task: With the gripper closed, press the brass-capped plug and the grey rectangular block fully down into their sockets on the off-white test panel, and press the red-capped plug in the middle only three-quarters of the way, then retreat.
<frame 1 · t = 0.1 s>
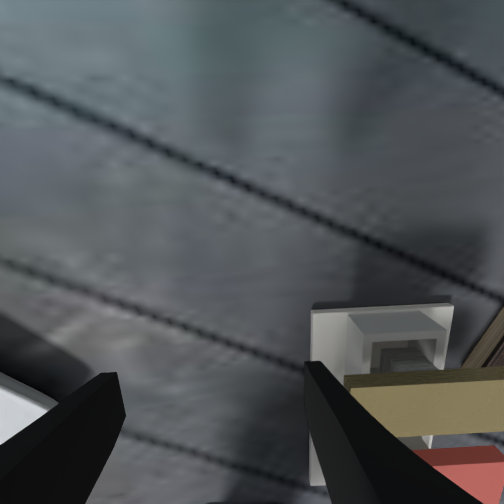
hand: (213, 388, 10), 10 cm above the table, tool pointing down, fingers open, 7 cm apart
brass plug: (414, 383, 16), point 5 cm above the table, slide at 0.0 cm
red plug: (404, 455, 18), point 5 cm above the table, slide at 0.0 cm
test panel: (371, 399, 22), on the table
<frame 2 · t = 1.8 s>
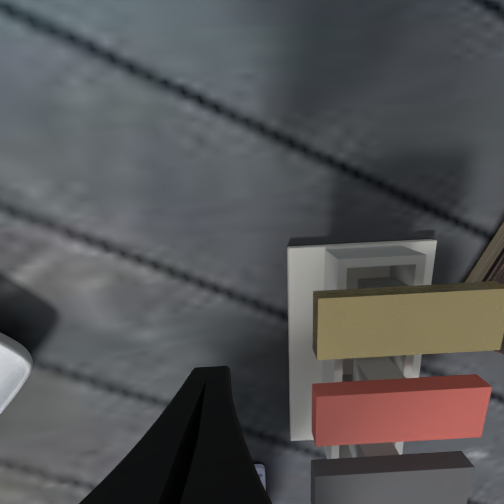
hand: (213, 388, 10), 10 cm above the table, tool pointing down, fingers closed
grey rectangular block: (376, 460, 18), point 5 cm above the table, slide at 0.0 cm
brass plug: (391, 307, 15), point 5 cm above the table, slide at 0.0 cm
red plug: (383, 390, 17), point 5 cm above the table, slide at 0.0 cm
test panel: (353, 346, 21), on the table
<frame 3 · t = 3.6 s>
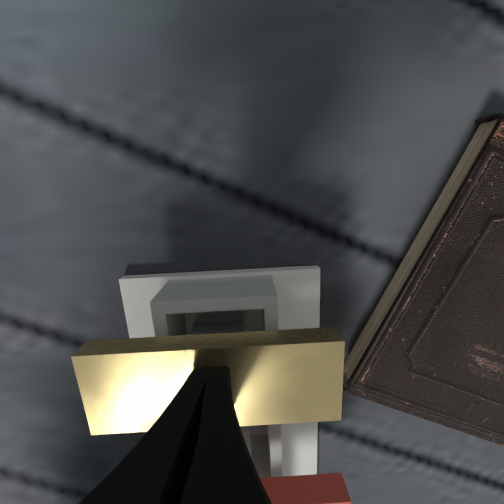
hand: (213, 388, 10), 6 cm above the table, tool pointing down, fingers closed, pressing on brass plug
brass plug: (218, 356, 12), point 4 cm above the table, slide at 1.3 cm, touching gripper
red plug: (225, 485, 12), point 5 cm above the table, slide at 0.0 cm
test panel: (231, 401, 16), on the table
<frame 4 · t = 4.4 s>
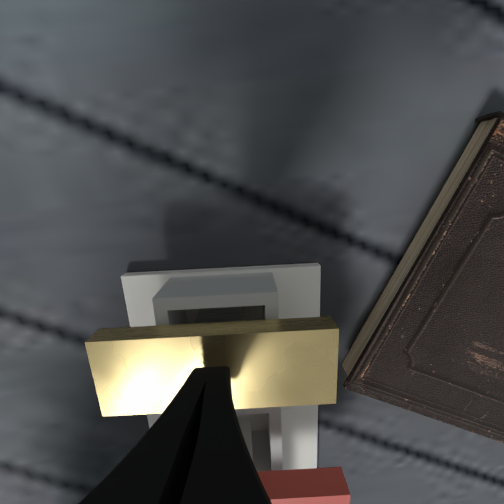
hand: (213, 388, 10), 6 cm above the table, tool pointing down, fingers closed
brass plug: (221, 344, 12), point 3 cm above the table, slide at 1.8 cm
red plug: (227, 478, 12), point 5 cm above the table, slide at 0.0 cm
test panel: (232, 397, 17), on the table
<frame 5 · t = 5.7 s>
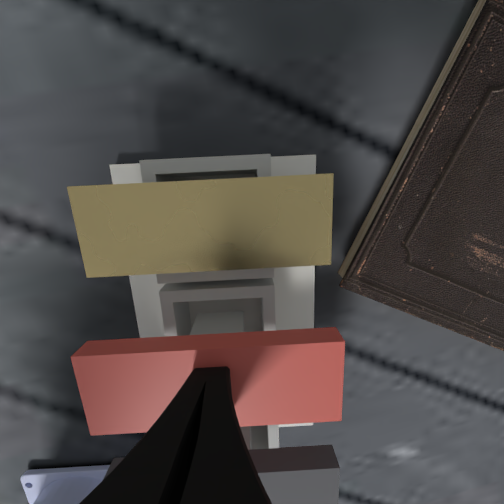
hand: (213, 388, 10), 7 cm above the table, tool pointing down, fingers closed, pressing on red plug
grey rectangular block: (227, 458, 13), point 5 cm above the table, slide at 0.0 cm
brass plug: (212, 221, 12), point 3 cm above the table, slide at 1.8 cm
red plug: (218, 356, 12), point 5 cm above the table, slide at 0.1 cm, touching gripper
test panel: (226, 309, 16), on the table
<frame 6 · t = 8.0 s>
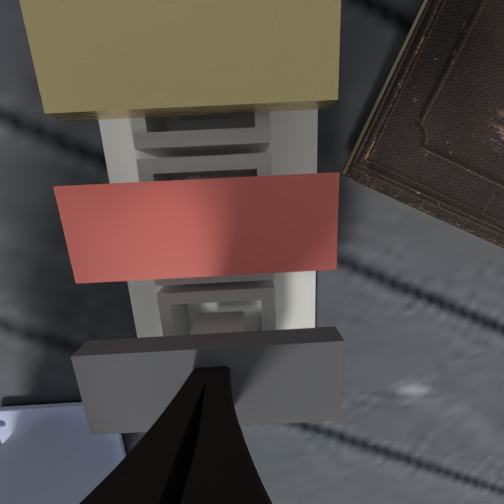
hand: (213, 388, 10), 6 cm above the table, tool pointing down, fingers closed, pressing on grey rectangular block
grey rectangular block: (218, 356, 12), point 4 cm above the table, slide at 0.4 cm, touching gripper
brass plug: (197, 72, 10), point 3 cm above the table, slide at 1.8 cm
red plug: (209, 223, 11), point 3 cm above the table, slide at 1.4 cm
test panel: (218, 215, 14), on the table
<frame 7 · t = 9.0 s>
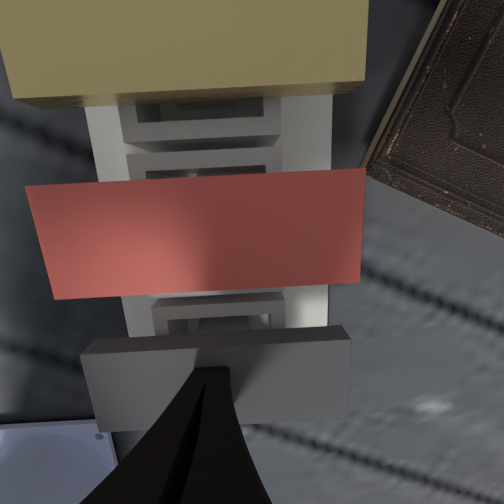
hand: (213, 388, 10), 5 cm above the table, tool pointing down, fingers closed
grey rectangular block: (224, 354, 12), point 3 cm above the table, slide at 1.9 cm
brass plug: (196, 52, 9), point 3 cm above the table, slide at 1.8 cm
red plug: (211, 227, 10), point 3 cm above the table, slide at 1.4 cm
test panel: (220, 217, 13), on the table
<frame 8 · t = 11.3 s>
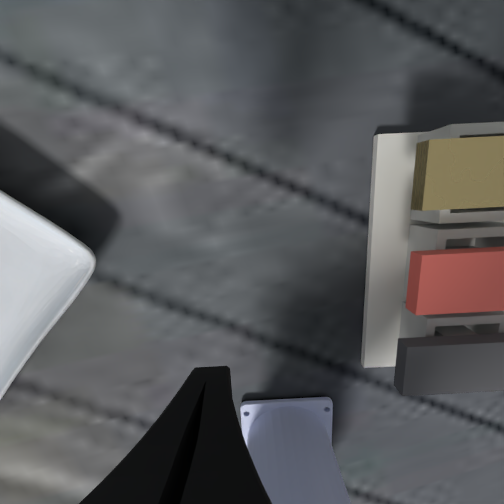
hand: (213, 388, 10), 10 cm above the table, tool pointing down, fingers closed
grey rectangular block: (457, 349, 18), point 3 cm above the table, slide at 1.9 cm
brass plug: (485, 174, 15), point 3 cm above the table, slide at 1.8 cm
red plug: (475, 271, 16), point 3 cm above the table, slide at 1.4 cm
test panel: (437, 257, 19), on the table
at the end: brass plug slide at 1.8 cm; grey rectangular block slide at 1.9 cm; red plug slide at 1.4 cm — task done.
